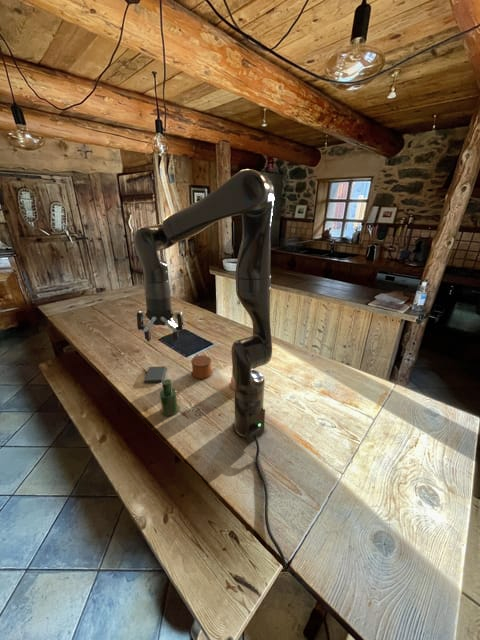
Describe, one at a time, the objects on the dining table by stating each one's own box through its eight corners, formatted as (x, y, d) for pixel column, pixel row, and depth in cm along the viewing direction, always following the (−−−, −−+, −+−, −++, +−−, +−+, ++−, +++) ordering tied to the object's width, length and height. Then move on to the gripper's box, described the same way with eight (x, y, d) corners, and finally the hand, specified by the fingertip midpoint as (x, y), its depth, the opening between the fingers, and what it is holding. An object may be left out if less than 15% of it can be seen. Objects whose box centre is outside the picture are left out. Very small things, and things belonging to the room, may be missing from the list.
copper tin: (215, 374, 115) (214, 362, 113) (197, 381, 111) (196, 368, 108) (206, 365, 122) (205, 353, 119) (189, 371, 118) (188, 359, 115)
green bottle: (180, 411, 95) (177, 383, 90) (165, 418, 92) (161, 389, 87) (174, 402, 99) (171, 375, 94) (160, 408, 96) (155, 380, 91)
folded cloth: (161, 382, 111) (161, 379, 110) (144, 382, 110) (144, 380, 110) (165, 368, 120) (165, 366, 119) (150, 369, 119) (149, 366, 119)
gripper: (130, 297, 78) (137, 346, 85) (179, 298, 79) (182, 346, 85) (138, 290, 85) (143, 335, 92) (183, 291, 86) (185, 335, 92)
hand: (162, 340), depth 88 cm, fingers open, 8 cm apart
